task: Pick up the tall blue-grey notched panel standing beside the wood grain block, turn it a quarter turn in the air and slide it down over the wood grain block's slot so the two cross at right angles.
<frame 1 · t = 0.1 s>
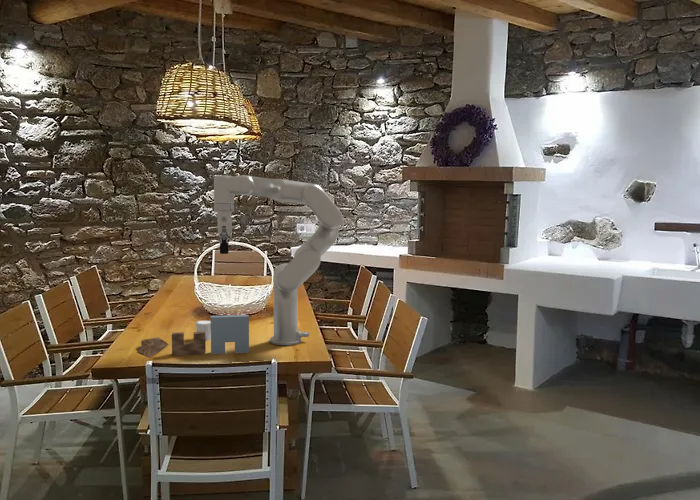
hand: (224, 251, 238), 37 cm above the table, tool pointing down, fingers open, 9 cm apart
wood grain block: (189, 353, 228), on the table
white topped beige cylinder: (204, 339, 249), on the table
blue-grey notched panel: (230, 352, 231), on the table
wooden fragment: (152, 348, 236), on the table
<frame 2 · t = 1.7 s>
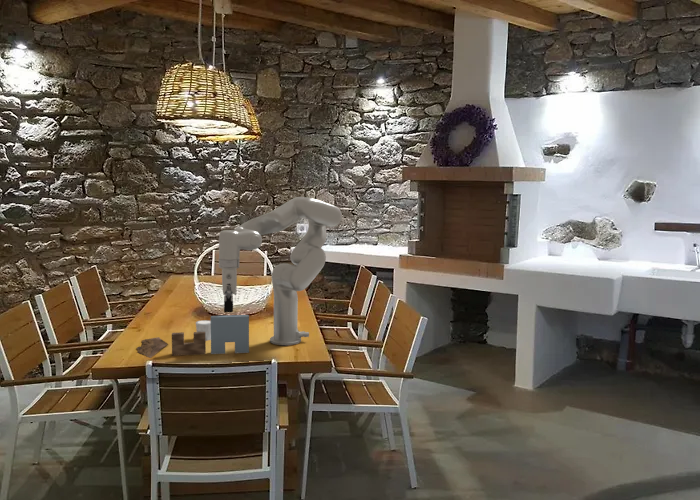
hand: (228, 309, 229), 17 cm above the table, tool pointing down, fingers open, 9 cm apart
nothing on the table moved.
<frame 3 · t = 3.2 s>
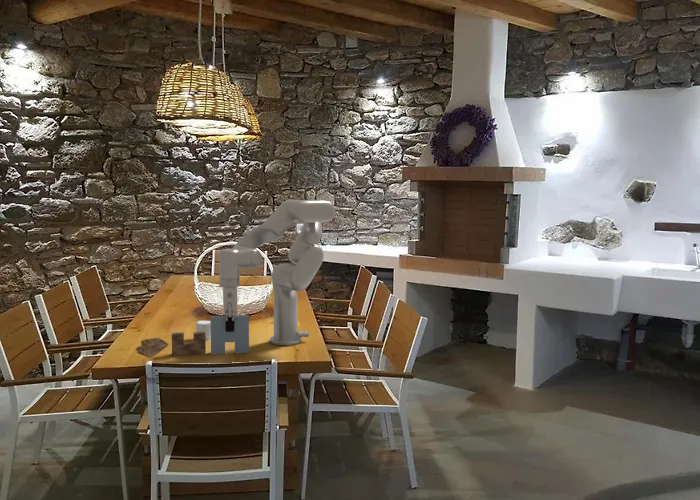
hand: (229, 330, 230), 9 cm above the table, tool pointing down, fingers closed on blue-grey notched panel, 2 cm apart
blue-grey notched panel: (230, 352, 231), on the table, touching gripper
everything else where it was.
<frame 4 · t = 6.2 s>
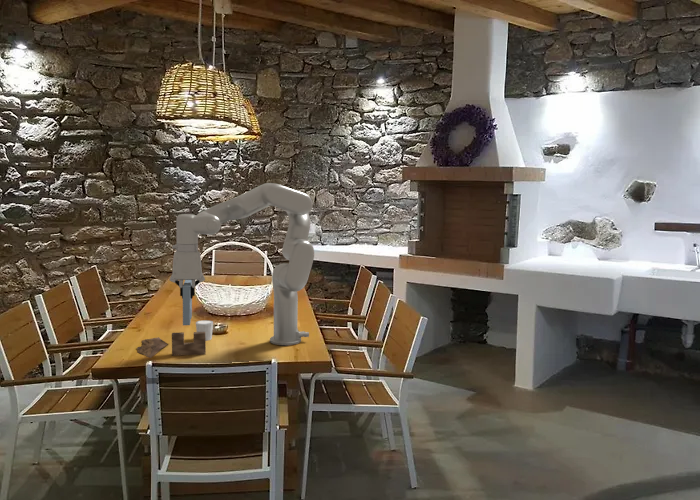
hand: (187, 297, 226), 21 cm above the table, tool pointing down, fingers closed on blue-grey notched panel, 2 cm apart
blue-grey notched panel: (187, 320, 227), point 13 cm above the table, touching gripper
everything else where it was.
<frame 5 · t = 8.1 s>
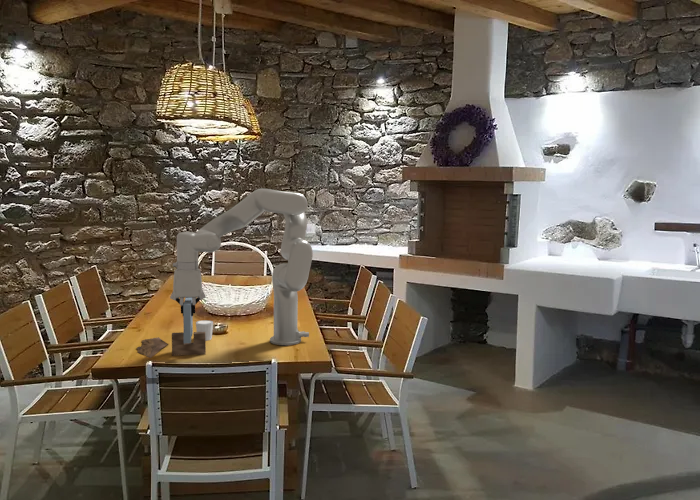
hand: (188, 314, 226), 15 cm above the table, tool pointing down, fingers closed on blue-grey notched panel, 2 cm apart
blue-grey notched panel: (188, 337, 228), point 6 cm above the table, touching gripper
everything else where it was.
when the fingers open (9 cm above the table, at t = 9.5 s): blue-grey notched panel stays where it is, on the table.
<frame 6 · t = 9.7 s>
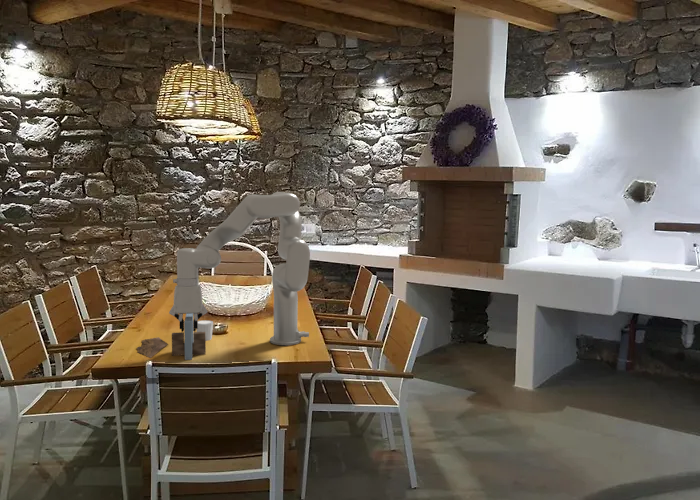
hand: (188, 330, 227), 9 cm above the table, tool pointing down, fingers open, 3 cm apart
blue-grey notched panel: (189, 353, 229), on the table
everything else where it was.
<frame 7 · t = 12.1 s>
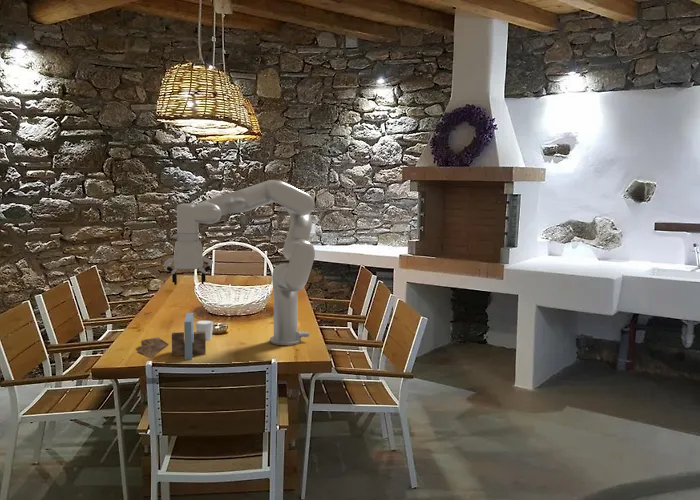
hand: (189, 283, 225), 26 cm above the table, tool pointing down, fingers open, 9 cm apart
nothing on the table moved.
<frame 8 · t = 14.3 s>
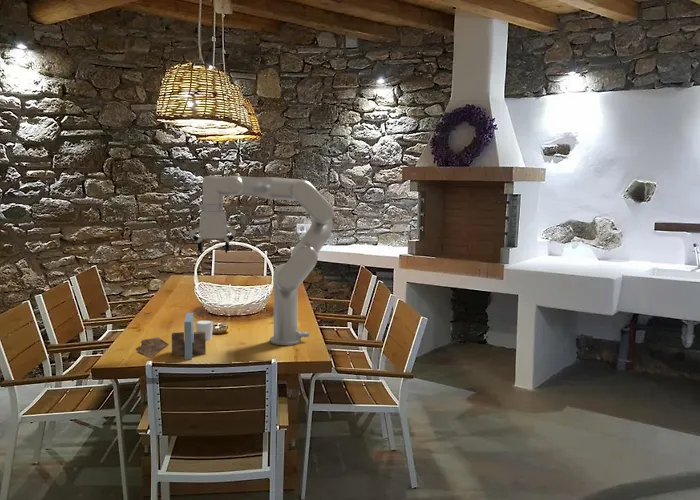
hand: (213, 252, 237), 36 cm above the table, tool pointing down, fingers open, 9 cm apart
nothing on the table moved.
at the end: blue-grey notched panel 0.1 cm off-centre on the wood grain block, point 0.0 cm above the wood grain block's base; blue-grey notched panel tilted 0°; the gripper is holding nothing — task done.
